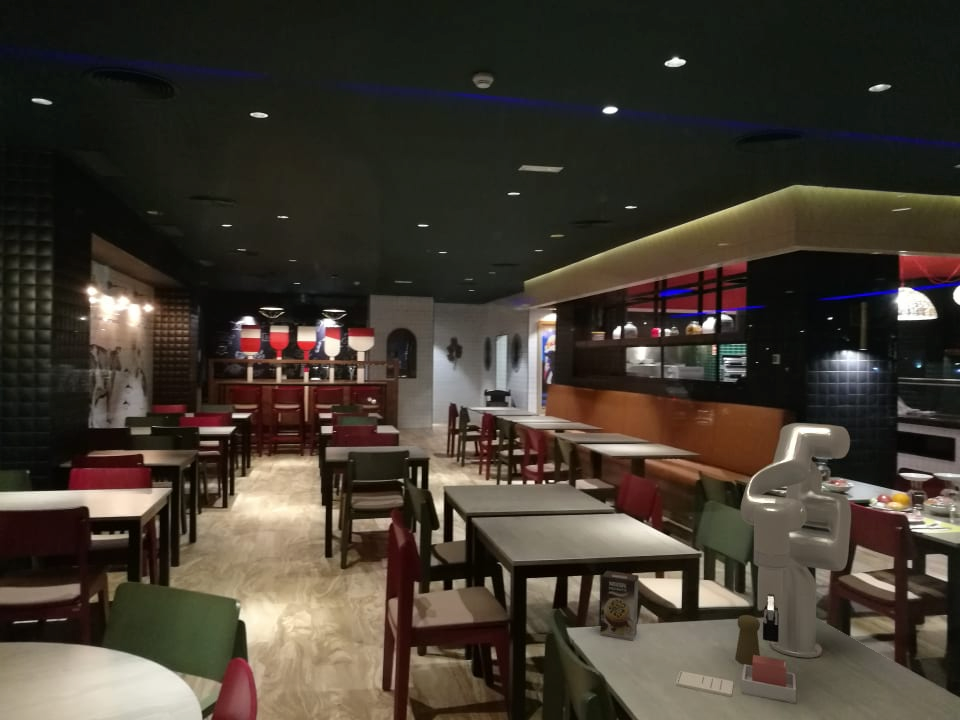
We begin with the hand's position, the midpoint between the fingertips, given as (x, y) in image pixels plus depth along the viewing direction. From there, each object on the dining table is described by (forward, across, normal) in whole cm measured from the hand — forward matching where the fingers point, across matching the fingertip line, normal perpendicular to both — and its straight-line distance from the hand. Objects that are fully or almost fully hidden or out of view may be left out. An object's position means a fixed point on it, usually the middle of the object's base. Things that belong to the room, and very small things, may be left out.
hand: (770, 632), depth 157 cm
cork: (+14, -13, -5) cm, 20 cm away
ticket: (+12, +6, -14) cm, 19 cm away
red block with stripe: (+12, +2, 0) cm, 12 cm away
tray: (+13, +2, 0) cm, 13 cm away
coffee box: (+14, -15, -38) cm, 43 cm away
